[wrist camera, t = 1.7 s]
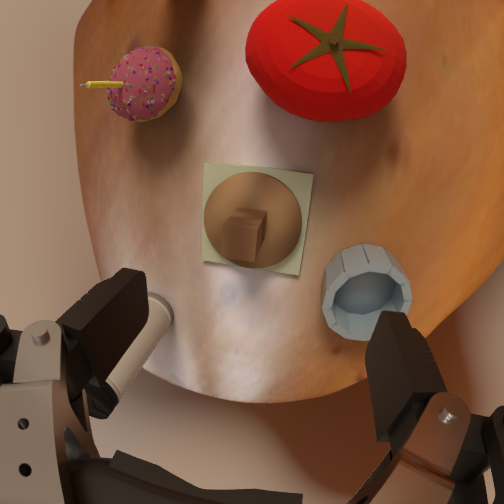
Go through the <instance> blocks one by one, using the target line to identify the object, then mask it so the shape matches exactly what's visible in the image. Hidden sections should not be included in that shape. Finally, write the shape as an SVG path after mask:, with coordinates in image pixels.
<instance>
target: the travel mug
mask: <svg viewBox="0 0 504 504" xmlns="http://www.w3.org/2000/svg"><path fill="white" fill-rule="evenodd" d="M148 303H149V317H148V321H147V323H146V325H145V327H144V328H143V329H142V331H141V332H140V333H139V335H138V336H137V337H136V339H135V340H134V342H133V343H132V344H131V346H130V347H129V348H128V350H127V351H126V353H125V354H124V355H123V357H122V358H121V360H120V361H119V362H118V364H117V365H116V367H115V368H114V369H113V371H112V372H111V374H110V375H109V376H108V378H107V379H106V381H105V382H104V384H103V385H102V386H101V388H99V387H97V386H95V385H92V384H90V383H87V385H86V386H85V387H84V389H85V392H86V397H87V405H88V412H89V416H91V417H94V418H97V419H107V418H108V416H109V415H110V414H111V413H112V411H113V410H114V408H115V407H116V405H117V404H118V403H119V402H120V399H121V398H122V397H123V395H124V394H125V392H126V391H127V389H128V388H129V386H130V385H131V383H132V381H133V380H134V378H135V377H136V375H137V374H138V372H139V371H140V369H141V368H142V366H143V365H144V363H145V362H146V360H147V359H148V357H149V356H150V354H151V353H152V351H153V350H154V348H155V347H156V345H157V344H158V342H159V341H160V339H161V338H162V336H163V335H164V333H165V332H166V330H167V329H168V327H169V326H170V324H171V323H172V321H173V311H172V308H171V307H170V305H169V304H168V302H167V301H166V300H165V299H164V298H162V297H161V296H159V295H157V294H154V293H148Z"/></svg>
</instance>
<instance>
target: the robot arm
mask: <svg viewBox="0 0 504 504" xmlns="http://www.w3.org/2000/svg"><path fill="white" fill-rule="evenodd" d="M148 317H149V303H148V293H147V283H146V276H145V273H144V272H143V271H138V270H133V269H128V268H122V269H121V270H119V271H118V272H117V273H116V274H115V275H114V276H113V277H111V278H109V279H107V280H104V281H102V282H100V283H98V284H96V285H95V286H94V287H93V288H92V289H90V290H89V291H88V294H85V295H84V296H83V297H81V300H78V301H77V302H76V303H75V304H74V305H73V306H72V307H71V308H69V309H68V310H67V311H66V312H65V313H64V314H63V315H62V316H61V317H60V318H59V319H58V320H57V321H55V322H53V321H49V320H42V321H37V322H35V323H32V324H31V325H29V326H28V327H26V328H25V329H24V331H18V330H11V329H9V327H8V324H7V322H6V319H5V318H4V316H2V315H0V504H302V498H303V494H298V493H286V492H275V491H267V490H260V489H237V490H207V489H201V488H198V487H196V486H194V485H192V484H190V483H188V482H186V481H184V480H183V479H181V478H179V477H177V476H175V475H173V474H172V473H170V472H168V471H167V470H165V469H163V468H162V467H160V466H158V465H156V464H153V463H150V462H147V461H144V460H142V459H139V458H136V457H134V456H131V455H129V454H126V453H124V452H121V451H119V450H117V451H116V452H115V454H114V456H113V458H112V459H111V458H100V455H99V452H98V450H97V448H96V446H95V443H94V440H93V436H92V430H91V425H90V418H89V412H88V405H87V397H86V392H85V389H84V387H85V386H86V385H87V383H90V384H92V385H95V386H97V387H99V388H101V386H102V385H103V384H104V382H105V381H106V379H107V378H108V376H109V375H110V374H111V372H112V371H113V369H114V368H115V367H116V365H117V364H118V362H119V361H120V360H121V358H122V357H123V355H124V354H125V353H126V351H127V350H128V348H129V347H130V346H131V344H132V343H133V342H134V340H135V339H136V337H137V336H138V335H139V333H140V332H141V331H142V329H143V328H144V327H145V325H146V323H147V321H148ZM365 365H366V370H367V376H368V382H369V387H370V394H371V400H372V407H373V414H374V420H375V429H376V436H377V442H390V445H391V449H390V450H389V451H388V452H387V454H386V455H385V456H384V458H383V459H382V461H381V462H380V464H379V465H378V466H377V468H376V469H375V470H374V472H373V473H372V474H371V476H370V477H369V478H368V479H367V481H366V482H365V483H364V484H363V486H362V487H361V488H360V489H359V490H358V492H357V493H356V494H355V495H354V496H353V497H352V498H351V499H350V500H349V501H348V502H347V503H346V504H488V500H487V493H486V486H485V481H484V476H483V473H484V472H485V471H487V470H488V469H489V468H490V467H491V472H492V476H493V482H494V487H495V499H494V502H493V504H504V406H500V407H498V408H497V409H496V410H495V411H494V412H493V413H492V415H491V416H490V417H485V416H481V415H476V414H471V413H470V410H469V408H468V405H467V404H466V403H465V402H464V400H462V399H461V398H460V397H459V396H457V395H455V394H452V393H449V392H447V389H446V386H445V384H444V381H443V379H442V376H441V374H440V372H439V369H438V366H437V364H436V362H435V361H434V357H433V355H432V352H430V348H429V346H428V343H427V341H426V339H425V338H424V337H423V336H422V334H421V333H420V332H419V331H418V330H417V329H416V328H412V327H411V325H410V323H409V320H408V318H407V316H406V314H405V313H404V312H396V311H387V310H383V311H382V312H381V313H380V315H379V318H378V321H377V323H376V326H375V328H374V331H373V334H372V336H371V339H370V341H369V343H368V346H367V349H366V355H365Z"/></svg>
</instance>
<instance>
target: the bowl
mask: <svg viewBox="0 0 504 504" xmlns="http://www.w3.org/2000/svg"><path fill="white" fill-rule="evenodd" d="M321 288H322V311H323V314H324V316H325V319H326V321H327V324H328V326H329V327H330V329H332V330H333V331H335V332H336V333H338V334H339V335H341V336H342V337H344V338H346V339H351V340H360V341H367V340H368V341H369V340H370V339H371V336H372V334H373V331H374V328H375V326H376V323H377V321H378V318H379V315H380V313H381V312H382V311H383V310H387V311H396V312H404V313H405V314H406V316H407V313H408V311H409V308H410V306H411V303H412V294H411V289H410V284H409V280H408V278H407V276H406V275H405V273H404V271H403V269H402V267H401V265H400V264H399V262H398V260H397V259H396V258H395V257H394V256H393V255H392V254H390V253H389V252H388V251H387V250H386V249H385V248H384V247H381V246H375V245H369V244H363V243H362V245H361V244H358V245H355V246H352V247H350V248H347V249H344V250H341V252H339V253H338V254H337V255H336V256H335V257H334V258H333V259H332V260H331V261H330V263H329V264H328V265H327V266H326V268H325V271H324V276H323V281H322V285H321Z"/></svg>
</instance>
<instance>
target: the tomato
mask: <svg viewBox="0 0 504 504" xmlns="http://www.w3.org/2000/svg"><path fill="white" fill-rule="evenodd" d="M245 54H246V63H247V65H248V68H249V70H250V73H251V74H252V76H253V77H254V78H255V80H256V81H257V83H258V84H259V85H260V87H261V88H262V89H263V91H264V92H265V93H266V94H267V95H268V96H269V97H270V98H271V99H272V100H273V101H274V103H275V104H277V105H278V106H280V107H281V108H283V109H285V110H286V111H288V112H289V113H292V114H294V115H297V116H300V117H302V118H305V119H310V120H314V121H319V122H335V121H344V120H351V119H357V118H362V117H366V116H368V115H370V114H373V113H375V112H378V111H379V110H380V109H382V108H383V107H384V106H386V105H387V104H388V103H389V102H390V101H391V100H392V99H393V97H394V96H395V95H396V94H397V92H398V89H399V87H400V85H401V83H402V80H403V78H404V74H405V69H406V49H405V45H404V41H403V38H402V37H401V35H400V33H399V32H398V30H397V29H396V27H395V26H394V25H393V24H392V23H391V22H390V21H389V20H388V19H387V18H386V17H385V16H384V15H383V14H382V13H381V12H379V11H378V10H376V9H375V8H374V7H372V6H371V5H369V4H367V3H365V2H363V1H361V0H277V1H275V2H274V3H272V4H270V5H269V6H268V7H267V8H266V9H264V10H263V11H262V12H261V13H260V14H259V15H258V17H257V18H256V19H255V21H254V22H253V24H252V26H251V28H250V31H249V33H248V37H247V42H246V47H245Z"/></svg>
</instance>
